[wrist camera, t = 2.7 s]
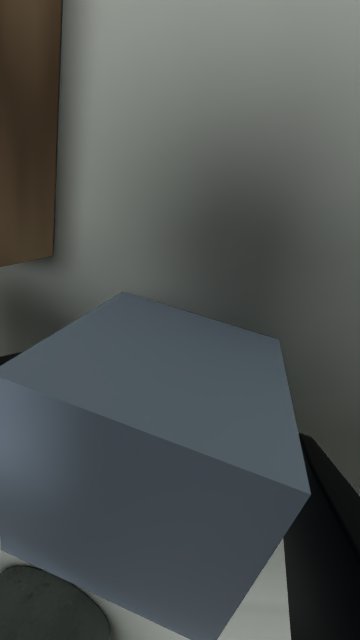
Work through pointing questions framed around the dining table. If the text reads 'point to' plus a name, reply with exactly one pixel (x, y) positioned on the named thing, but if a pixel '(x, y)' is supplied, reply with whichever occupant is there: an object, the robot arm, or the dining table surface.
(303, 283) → the dining table surface
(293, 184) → the dining table surface
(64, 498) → the cube
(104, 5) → the dining table surface
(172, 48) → the dining table surface
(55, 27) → the base
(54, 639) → the grey bottle
